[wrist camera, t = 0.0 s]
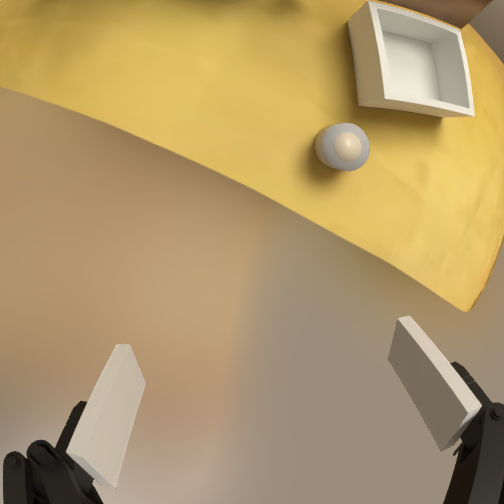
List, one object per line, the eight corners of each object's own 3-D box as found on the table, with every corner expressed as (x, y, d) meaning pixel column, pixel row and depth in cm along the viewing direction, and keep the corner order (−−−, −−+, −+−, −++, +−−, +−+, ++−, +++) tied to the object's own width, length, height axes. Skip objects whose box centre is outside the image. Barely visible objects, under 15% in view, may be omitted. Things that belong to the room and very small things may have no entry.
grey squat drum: (312, 125, 35) (323, 122, 30) (353, 126, 35) (368, 123, 30) (315, 168, 37) (326, 171, 32) (355, 167, 37) (370, 170, 32)
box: (346, 21, 29) (367, 0, 22) (431, 41, 29) (459, 30, 22) (358, 106, 34) (384, 98, 26) (442, 117, 34) (474, 116, 27)
